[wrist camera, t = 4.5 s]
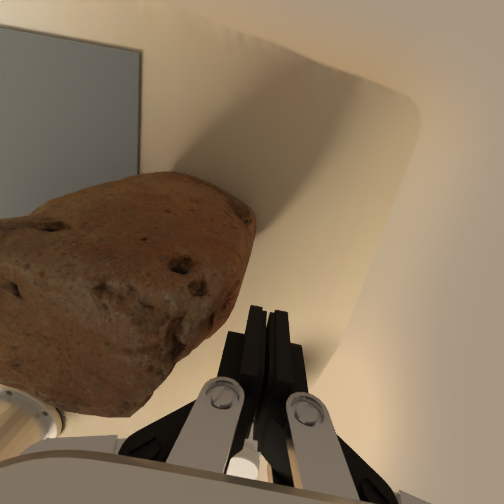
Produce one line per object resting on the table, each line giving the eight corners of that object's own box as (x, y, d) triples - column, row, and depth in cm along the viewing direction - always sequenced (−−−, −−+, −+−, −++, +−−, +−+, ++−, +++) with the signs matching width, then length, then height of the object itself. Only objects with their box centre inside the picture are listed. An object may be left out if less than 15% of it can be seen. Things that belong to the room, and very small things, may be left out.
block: (146, 230, 29) (-77, 380, 11) (163, 160, 26) (-99, 196, 8) (242, 266, 30) (191, 466, 11) (268, 201, 27) (256, 324, 9)
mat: (136, 281, 32) (135, 282, 31) (-61, 244, 32) (-64, 245, 31) (140, 53, 23) (138, 52, 23) (-124, 5, 24) (-129, 3, 23)
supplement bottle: (274, 382, 35) (275, 464, 26) (258, 409, 37) (253, 495, 28) (235, 367, 35) (222, 446, 26) (221, 396, 37) (204, 478, 28)
